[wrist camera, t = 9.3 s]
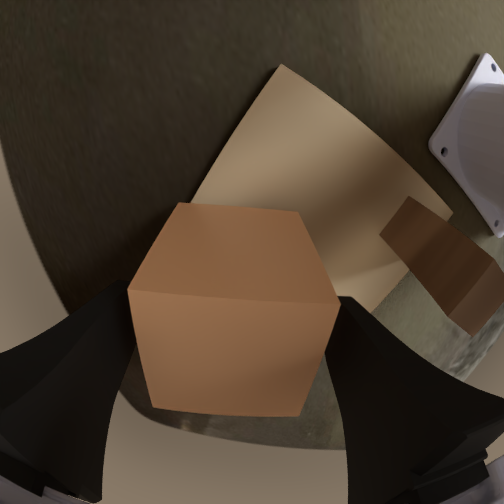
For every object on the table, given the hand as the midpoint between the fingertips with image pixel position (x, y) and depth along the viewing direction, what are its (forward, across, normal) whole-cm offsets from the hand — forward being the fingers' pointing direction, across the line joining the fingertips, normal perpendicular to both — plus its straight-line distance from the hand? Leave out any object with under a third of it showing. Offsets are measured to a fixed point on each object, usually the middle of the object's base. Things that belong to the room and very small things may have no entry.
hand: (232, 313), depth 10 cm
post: (+5, -9, -2) cm, 11 cm away
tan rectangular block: (+4, 0, 0) cm, 4 cm away
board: (+5, -4, -1) cm, 7 cm away
